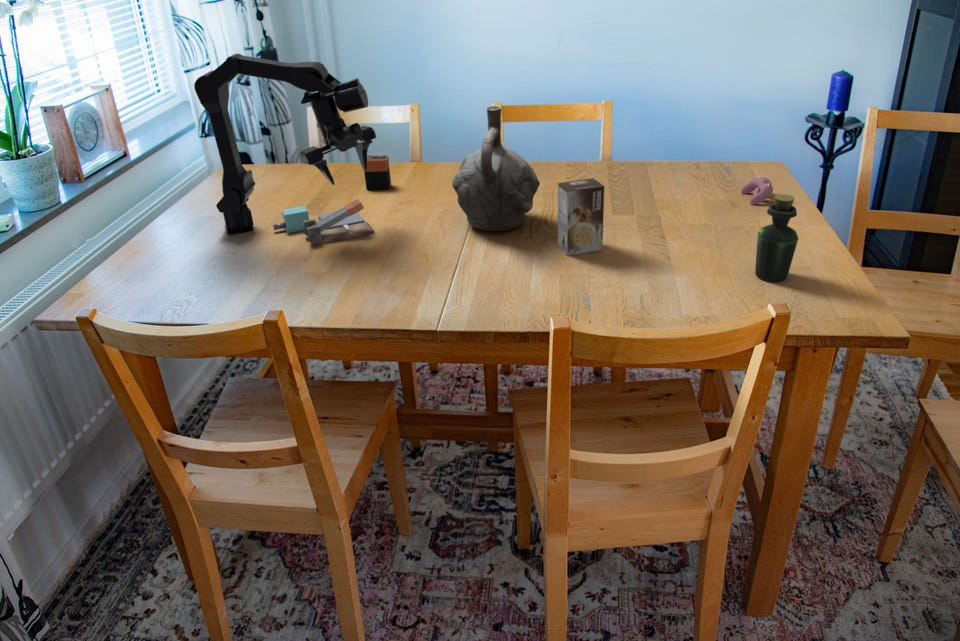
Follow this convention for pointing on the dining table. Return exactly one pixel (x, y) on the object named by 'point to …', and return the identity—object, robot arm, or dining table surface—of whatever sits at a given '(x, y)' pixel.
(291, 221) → the plug
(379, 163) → the battery
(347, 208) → the cutter lever
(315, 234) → the base
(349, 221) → the mat
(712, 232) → the dining table surface
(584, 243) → the coffee box
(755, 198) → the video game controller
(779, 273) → the potion bottle
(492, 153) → the vessel
